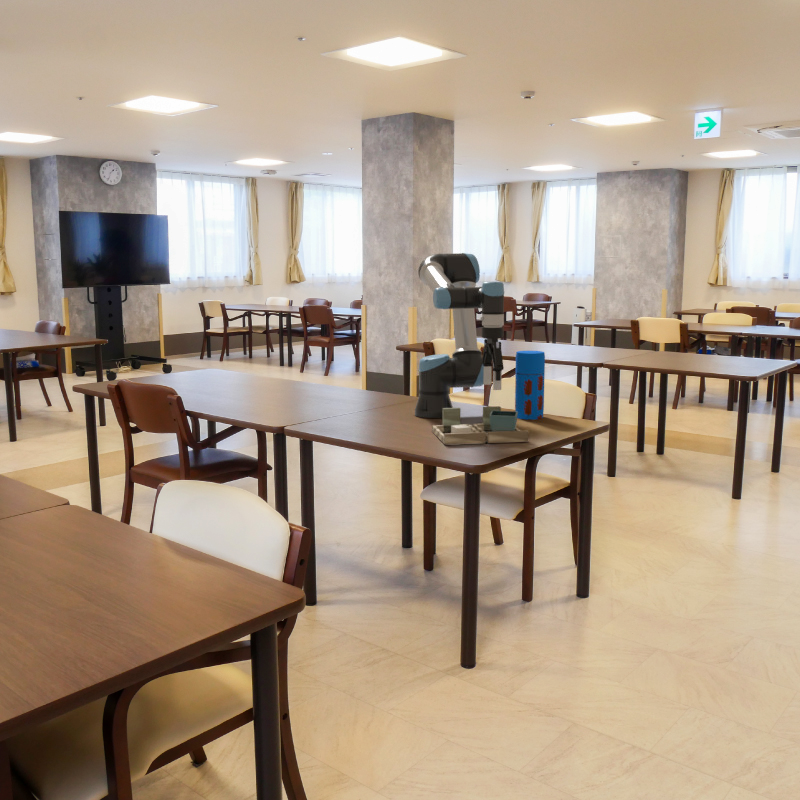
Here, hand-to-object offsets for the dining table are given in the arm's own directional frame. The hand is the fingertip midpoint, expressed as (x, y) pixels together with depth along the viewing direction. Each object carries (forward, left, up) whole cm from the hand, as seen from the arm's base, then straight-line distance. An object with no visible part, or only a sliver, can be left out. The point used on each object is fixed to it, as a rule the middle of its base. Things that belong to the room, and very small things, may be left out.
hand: (492, 387), depth 292 cm
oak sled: (+10, 0, -15) cm, 19 cm away
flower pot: (+16, 0, -16) cm, 22 cm away
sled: (+10, -15, -15) cm, 24 cm away
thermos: (-22, +20, -16) cm, 34 cm away
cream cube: (+15, -15, -16) cm, 26 cm away
